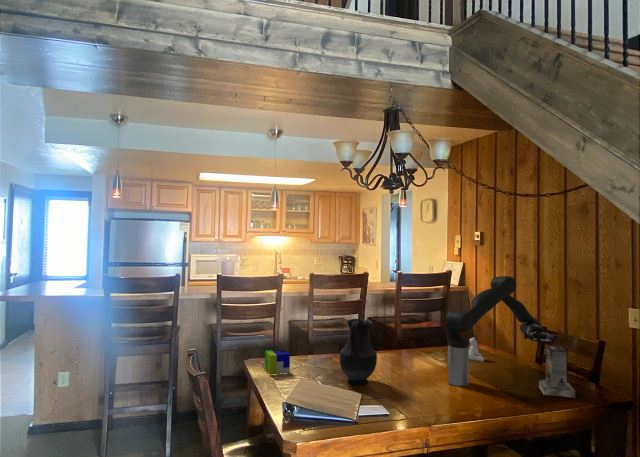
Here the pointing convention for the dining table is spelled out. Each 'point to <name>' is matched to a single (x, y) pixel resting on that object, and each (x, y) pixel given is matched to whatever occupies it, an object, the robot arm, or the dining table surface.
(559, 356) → the coffee box
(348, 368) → the pitcher
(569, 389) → the plinth
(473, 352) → the seated beast figurine
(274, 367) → the puzzle toy
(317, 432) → the dining table surface
